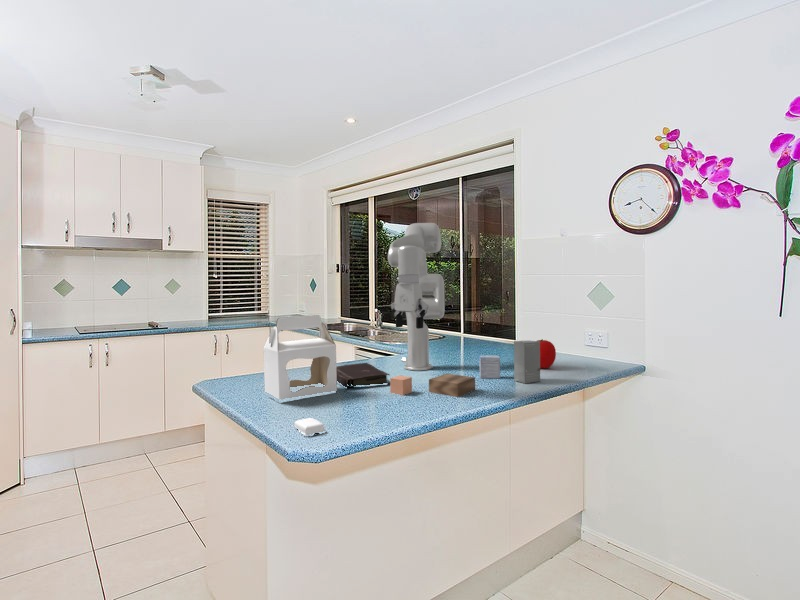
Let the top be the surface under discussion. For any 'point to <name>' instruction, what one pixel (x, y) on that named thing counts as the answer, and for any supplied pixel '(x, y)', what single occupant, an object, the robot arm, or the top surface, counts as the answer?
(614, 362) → the top surface
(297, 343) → the gable box
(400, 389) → the terracotta cube
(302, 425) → the soap
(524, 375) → the tall grey block
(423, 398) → the top surface
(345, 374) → the diary
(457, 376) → the walnut block
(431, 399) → the top surface
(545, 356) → the tomato
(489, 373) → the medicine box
